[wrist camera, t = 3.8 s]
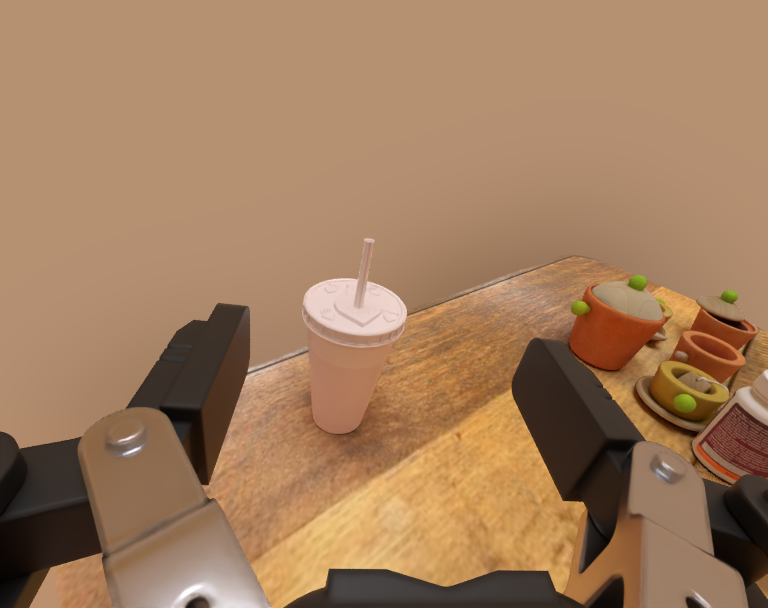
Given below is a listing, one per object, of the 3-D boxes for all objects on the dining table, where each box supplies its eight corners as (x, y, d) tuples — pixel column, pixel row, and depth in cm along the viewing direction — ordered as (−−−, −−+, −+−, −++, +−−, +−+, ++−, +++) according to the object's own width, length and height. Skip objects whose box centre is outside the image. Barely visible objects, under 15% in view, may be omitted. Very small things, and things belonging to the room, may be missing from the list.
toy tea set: (707, 459, 31) (793, 369, 26) (538, 351, 40) (579, 269, 35) (750, 358, 48) (808, 291, 43) (624, 297, 57) (660, 236, 52)
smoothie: (293, 453, 25) (310, 257, 18) (292, 382, 30) (306, 209, 23) (388, 448, 26) (440, 267, 19) (372, 382, 32) (408, 220, 24)
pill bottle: (768, 502, 29) (860, 426, 24) (696, 470, 30) (772, 393, 26) (747, 456, 32) (824, 383, 28) (684, 429, 34) (748, 356, 29)
